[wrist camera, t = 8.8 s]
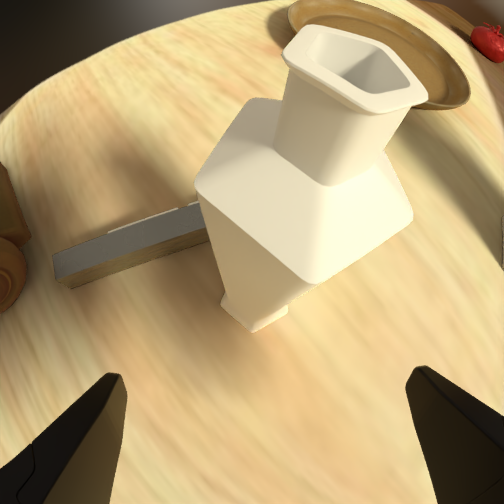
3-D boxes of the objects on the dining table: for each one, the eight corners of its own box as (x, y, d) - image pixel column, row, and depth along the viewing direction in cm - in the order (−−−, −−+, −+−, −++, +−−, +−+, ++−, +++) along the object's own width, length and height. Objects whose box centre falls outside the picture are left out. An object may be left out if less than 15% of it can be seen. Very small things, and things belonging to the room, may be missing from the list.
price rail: (374, 188, 21) (386, 174, 19) (70, 288, 16) (55, 280, 15) (362, 168, 21) (372, 152, 20) (66, 261, 17) (51, 250, 15)
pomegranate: (479, 57, 38) (497, 28, 30) (460, 34, 42) (475, 7, 33) (507, 73, 39) (524, 48, 30) (488, 49, 42) (503, 25, 33)
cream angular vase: (267, 245, 19) (352, -4, 5) (306, 307, 17) (509, 132, 3) (199, 281, 17) (141, 21, 3) (238, 347, 16) (323, 255, 2)
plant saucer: (400, 153, 23) (418, 129, 20) (242, 24, 29) (244, 3, 26) (479, 103, 30) (490, 89, 27) (362, 11, 35) (368, -4, 32)
